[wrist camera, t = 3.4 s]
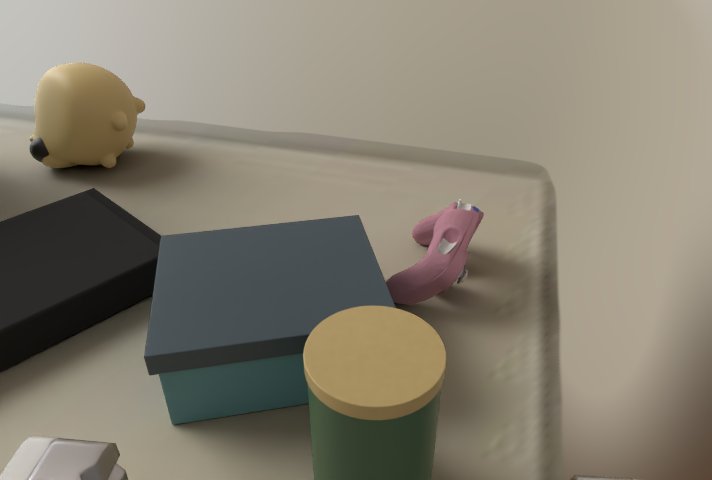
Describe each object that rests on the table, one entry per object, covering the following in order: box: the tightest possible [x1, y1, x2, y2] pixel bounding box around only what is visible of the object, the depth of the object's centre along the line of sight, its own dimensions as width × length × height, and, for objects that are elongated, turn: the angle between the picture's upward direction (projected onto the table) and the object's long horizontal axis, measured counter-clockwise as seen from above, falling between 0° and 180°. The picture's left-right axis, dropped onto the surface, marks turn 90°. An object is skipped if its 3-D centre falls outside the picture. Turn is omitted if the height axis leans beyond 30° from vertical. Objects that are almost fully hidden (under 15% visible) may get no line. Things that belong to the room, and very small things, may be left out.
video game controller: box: [386, 200, 484, 304], centre depth 45 cm, size 10×5×7 cm, turn 160°
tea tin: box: [303, 306, 446, 480], centre depth 28 cm, size 6×6×10 cm
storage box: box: [144, 215, 396, 425], centre depth 38 cm, size 14×12×6 cm
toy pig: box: [30, 63, 145, 168], centre depth 62 cm, size 10×12×11 cm
